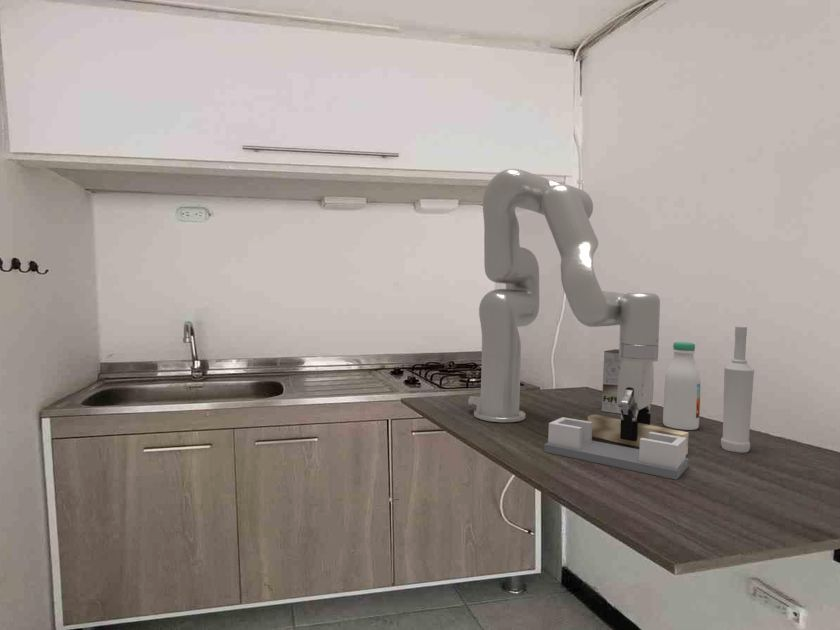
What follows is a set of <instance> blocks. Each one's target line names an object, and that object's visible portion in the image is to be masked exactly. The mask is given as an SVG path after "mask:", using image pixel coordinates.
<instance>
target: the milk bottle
mask: <svg viewBox="0 0 840 630" xmlns="http://www.w3.org/2000/svg"><path fill="white" fill-rule="evenodd" d="M672 344H673V345H672V347H673V356H672V360H671V362H670V364H669V366H668V368H667V370H666V373H665V376H664V386H663V387H664V388H663V389H664V391H663V409H662V411H663V412H662V423H663V425H664V426H665V427H666V428H669V429H674V430H681V431H695V430H697V429H698V428H699V426H700V414H701V413H700V412H701V411H700V410H701V409H700V408H701V407H700V406H701V375H700V371H699V368H698V367H697V364H696V361H695V358H694V356H695V355H694V354H695V349H696V344H695V343H694V342H688V341H687V342H685V341H684V342H683V341H677V342H673V343H672Z"/></svg>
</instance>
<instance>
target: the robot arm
mask: <svg viewBox="0 0 840 630" xmlns="http://www.w3.org/2000/svg"><path fill="white" fill-rule="evenodd" d="M482 199H483V200H482V213H483V214H482V216H483V226H484V227H483V228H484V230H483V231H484V232H483V234H484V236H483V237H484V238H483V246H484V247H483V252H484V256H483V257H484V258H483V259H484V263H483V264H484V265H483V266H484V273H485V275H486V277H487V279H488V280H490V281H491V282H493V283H496V284H505V288H498V289H493V290H490V291H489V292H487V293H486V294H485V295H484V296H483V297H482V299H481V300H480V303H479V307H478V316H479V317H478V318H479V323H480V328H481V330H480V331H481V374H480V377H481V378H480V380H481V381H480V396H475V395H474V396H473V395H470V396H469V397H468V401H467V404H468V405H472V406H475V407H476V409H475V410H473V416H474V417H475V418H477V419H479V420H483V421H485V422H486V421H487V422H492V423H515V422H516V423H517V422H521V421H524V420H525V419H526V413H525V411H523V410H520V395H521V394H520V393H521V392H520V390H521V363H522V361H521V360H522V354H521V353H522V352H521V351H522V345H521V337H520V333H519V330H518V328H521V327H522V328H523V327H526V326H529V325H530V324H532V323H533V322H534V321H536V319H537V317H538V314H539V311H540V265H539V263H538V260H537V257H536V255H535V254H534V253H533V252H532V251H531V250H530V249H528V248H526V247H522V246H521V243H520V224H519V221H518V217H517V215H516V208H520V209H523V210H528V211H531V212H535V213H537V214H540V215H543V216H544V218H545V220H546V222H547V223H546V224H547V225H548V227H549V231H550V233H551V236H552V238H553V240H554V242H555V245H556V247H557V250H558V253H559V256H560V259H561V260H560V278H561V280H560V281H561V284H562V289H563V291H564V294H565V297H566V299H567V301H568V305H569V307H570V309H571V312H572V313H573V316H575V318H576V319H577V321H579V322H580V324H582V325H584V326H586V327H589V328H598V327H600V328H601V327H611V326H612V327H613V326H619V344H618V345H619V347H618V348H619V349H618V350H619V359H621V364H620V370H619V379H618V391H617V406H618V407H622V410H621V414H620V419H621V430H620V438H621V439H623V440H629V441H637V436H638V423H642V424H647V425H651V420H652V419H651V415H652V414H651V410H652V407H651V404H652V403H653V399H654V382H655V381H654V380H655V379H654V377H655V375H654V372H655V371H654V369H655V367H654V362H659V346H660V345H659V340H660V319H661V318H660V316H661V314H660V313H661V299H660V297H659V295H658V294H655V293H652V292H651V293H650V292H627V293H624V292H623V293H621V292H614V291H608V290H607V291H605V290H602V289H601V287H600V283H599V281H598V279H597V276H596V273H595V270H594V263H593V262H594V261H593V259H594V256H595V252H596V251H597V249H598V247H599V240H598V238H597V236H596V233H595V230H594V229H593V226H592V223H591V222H590V218H591V216H592V215H593V211H594V204H593V200H592V197H591V196H590V195H589V193H587V192H586V190H583V189H580V188H578V187H575V186H572V185H569V184H565V183H560V182H558V181H557V182H556V181H555V180H551V179H548V178H546V177H543V176H540V175H536V174H535V173H532V172H529V171H527V170H524V169H519V168H508V169H504V170H502V171H500V172H498V173H497V174H495V175H494V176H493V177H492V178H491V180H490V181H489V183H488V184H487V186H486V188H485V190H484V193H483V198H482ZM632 405H633V406H632Z"/></svg>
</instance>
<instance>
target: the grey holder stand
mask: <svg viewBox="0 0 840 630" xmlns="http://www.w3.org/2000/svg"><path fill="white" fill-rule="evenodd" d="M547 436H548V437H547V442H545V443H544V444H543V445H544V446H543V452H544V453H547V454H553V455H558V456H561V457H562V456H563V457H567V458H572V459H577V460H581V461H585V462H591V463H595V464H601V465H605V466H609V467H615V468H620V469H624V470H629V471H633V472H639V473H644V474H648V475H653V476H657V477H661V478H666V479H672V480H676V481H677V480H678V479H679V478H680V477H681V475H683V473H684V472H686V470H687V469H688V468H689V461H690V460H689V458H687V457H686V456H687V454H686V438H685V437H679V436H673V435H667V434H661V433H655V432H649V434H648V439H646V438H641V439H640V447H638V448H639V449H638V448H633V447H628V446H623V445H618V444H614V443H613V444H612V443H606V442H603V441H602V442H601V441H598V440H597V441H596V440H593V437H592V422H589V421H588V420H583V419H582V420H580V419H576V418H569V417H564V416H563V417H560V418H558V419H557V418H556V419H555V420H553V421H551V422H548V435H547Z"/></svg>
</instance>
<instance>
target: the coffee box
mask: <svg viewBox="0 0 840 630" xmlns="http://www.w3.org/2000/svg"><path fill="white" fill-rule="evenodd" d="M603 352H604V355H603V370H602V371H603V373H602V374H603V377H602V396H601V397H602V399H601V401H602V402H601V412H606V413H611V414H619V415H621V410H622V407H618V406H617V391H618V379H619V370H620V364H621V359H619V349H616V348H614V349H609V350H604V351H603ZM632 406H633V405H632Z"/></svg>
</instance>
